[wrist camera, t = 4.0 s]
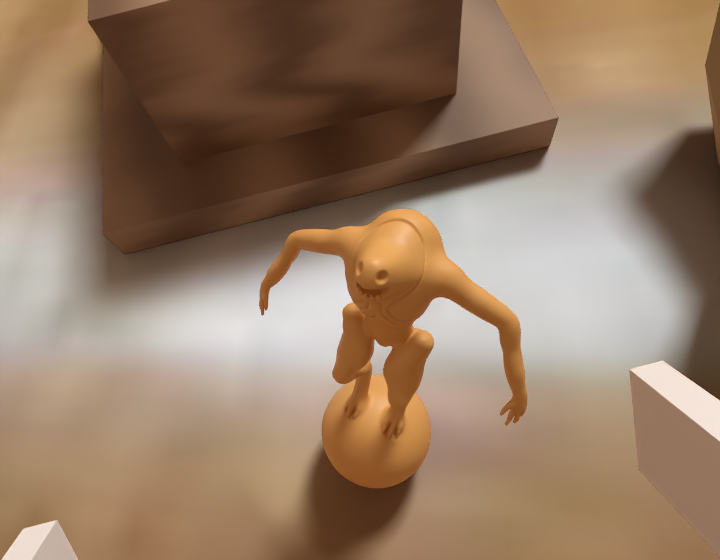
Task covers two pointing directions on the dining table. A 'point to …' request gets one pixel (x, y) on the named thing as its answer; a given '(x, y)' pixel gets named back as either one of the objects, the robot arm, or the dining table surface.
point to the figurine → (392, 340)
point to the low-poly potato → (715, 81)
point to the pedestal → (298, 105)
